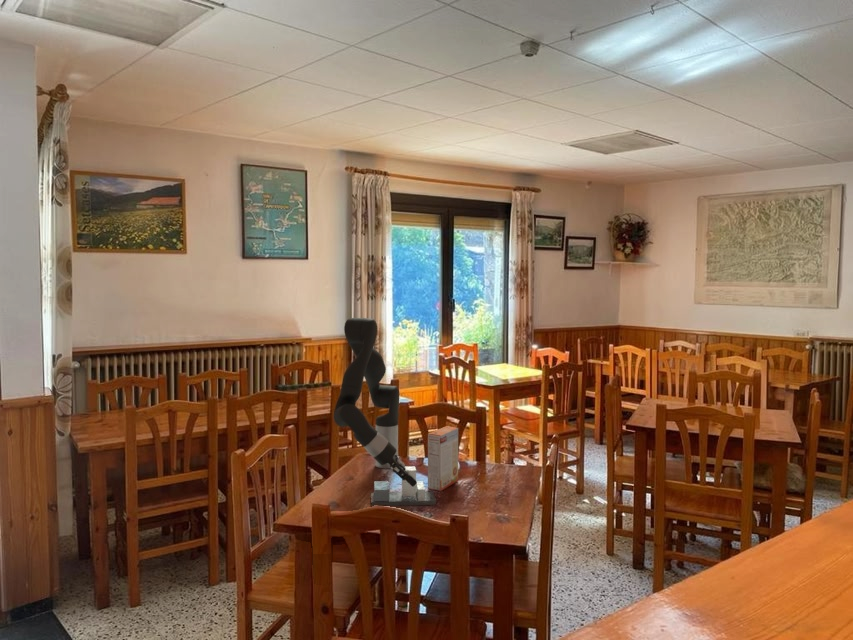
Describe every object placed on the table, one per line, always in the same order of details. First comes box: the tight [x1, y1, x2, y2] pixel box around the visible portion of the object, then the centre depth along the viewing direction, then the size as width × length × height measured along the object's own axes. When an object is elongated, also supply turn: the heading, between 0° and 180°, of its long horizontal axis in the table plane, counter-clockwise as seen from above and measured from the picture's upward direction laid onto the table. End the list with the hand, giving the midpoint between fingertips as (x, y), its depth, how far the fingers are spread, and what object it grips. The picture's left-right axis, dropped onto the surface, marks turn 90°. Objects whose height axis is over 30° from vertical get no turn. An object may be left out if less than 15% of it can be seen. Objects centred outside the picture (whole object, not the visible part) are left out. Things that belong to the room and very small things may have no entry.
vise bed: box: [370, 480, 437, 507], centre depth 219 cm, size 9×22×6 cm, turn 96°
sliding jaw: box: [373, 480, 390, 501], centre depth 218 cm, size 9×5×4 cm, turn 6°
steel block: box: [401, 466, 417, 496], centre depth 219 cm, size 4×4×9 cm
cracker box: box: [427, 425, 459, 492], centre depth 236 cm, size 14×6×21 cm, turn 149°
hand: (414, 482), depth 219 cm, fingers closed on steel block, 4 cm apart
